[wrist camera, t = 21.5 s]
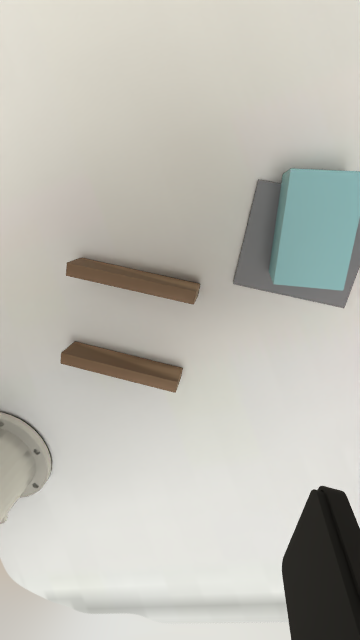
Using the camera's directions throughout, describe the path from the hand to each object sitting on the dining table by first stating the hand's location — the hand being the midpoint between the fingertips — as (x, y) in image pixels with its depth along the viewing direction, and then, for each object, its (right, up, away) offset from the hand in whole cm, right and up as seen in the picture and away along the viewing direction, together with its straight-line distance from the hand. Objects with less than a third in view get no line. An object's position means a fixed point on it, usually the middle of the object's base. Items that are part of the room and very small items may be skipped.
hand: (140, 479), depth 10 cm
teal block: (+12, +12, +19) cm, 25 cm away
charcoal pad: (+12, +11, +20) cm, 26 cm away
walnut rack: (-4, +5, +25) cm, 26 cm away
